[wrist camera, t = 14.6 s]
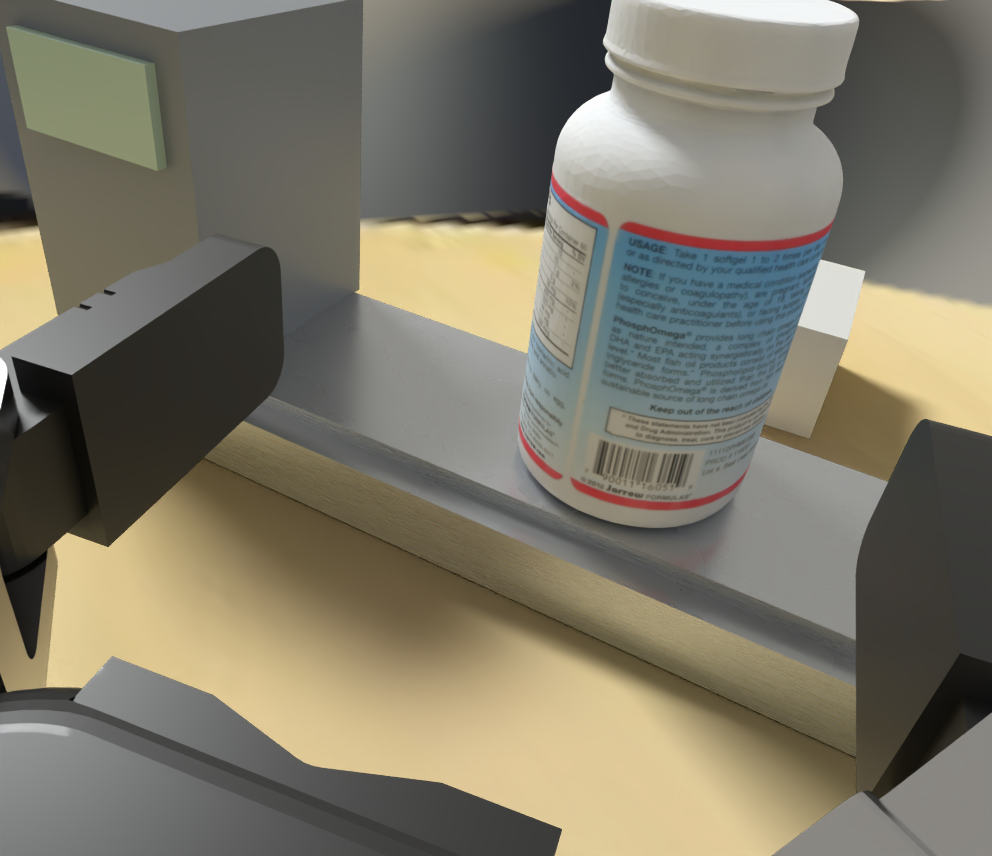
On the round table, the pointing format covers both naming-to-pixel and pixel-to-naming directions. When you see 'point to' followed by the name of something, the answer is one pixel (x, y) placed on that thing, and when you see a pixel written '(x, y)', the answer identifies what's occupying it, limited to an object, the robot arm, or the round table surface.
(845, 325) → the box
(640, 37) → the pill bottle
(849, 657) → the rail
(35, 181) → the modules
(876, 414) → the round table surface
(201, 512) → the round table surface
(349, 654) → the round table surface
